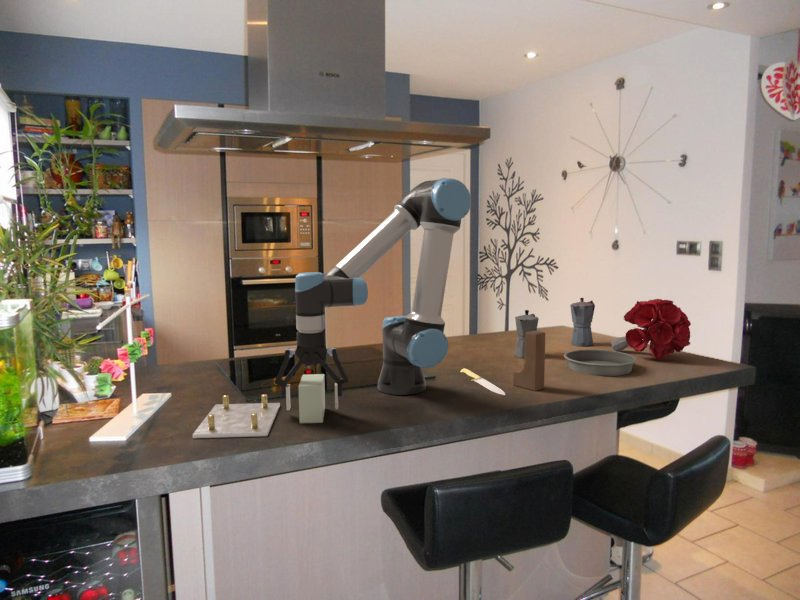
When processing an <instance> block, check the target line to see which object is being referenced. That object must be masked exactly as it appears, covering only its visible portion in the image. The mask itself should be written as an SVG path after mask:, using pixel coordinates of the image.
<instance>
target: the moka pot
mask: <svg viewBox="0 0 800 600" xmlns="http://www.w3.org/2000/svg"><path fill="white" fill-rule="evenodd" d="M579 299H580V301H579V302H572V303H571V304H570V306H569V307H570V312H571V320H572V325H573V329H572V337H571V345H572V346H576V347H591V346H594V338H593V334H592V333H593V332H592V327H591V326H592V323H593V319H594V313H595V308H596V305H595V302H594V301H593V300H592V299H591V300H589V301H584V299H585V298H584V297H580V298H579Z"/></svg>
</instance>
